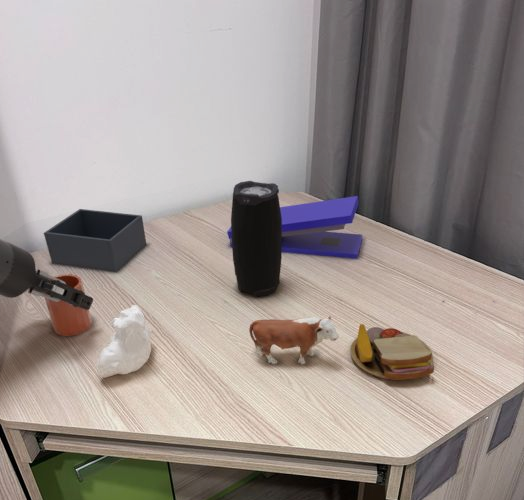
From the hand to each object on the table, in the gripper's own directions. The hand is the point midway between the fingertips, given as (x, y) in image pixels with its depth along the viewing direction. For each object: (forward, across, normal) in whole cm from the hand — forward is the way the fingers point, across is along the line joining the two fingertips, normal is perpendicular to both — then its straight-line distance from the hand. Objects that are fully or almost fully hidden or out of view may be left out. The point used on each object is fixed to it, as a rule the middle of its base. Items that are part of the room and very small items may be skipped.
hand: (72, 297), depth 91 cm
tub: (+19, +16, -11) cm, 27 cm away
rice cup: (+3, 0, +5) cm, 5 cm away
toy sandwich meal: (+16, -51, -9) cm, 54 cm away
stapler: (+37, -17, -29) cm, 50 cm away
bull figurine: (+11, -37, -3) cm, 39 cm away
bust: (+1, -16, +7) cm, 18 cm away
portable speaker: (+22, -21, -15) cm, 34 cm away
